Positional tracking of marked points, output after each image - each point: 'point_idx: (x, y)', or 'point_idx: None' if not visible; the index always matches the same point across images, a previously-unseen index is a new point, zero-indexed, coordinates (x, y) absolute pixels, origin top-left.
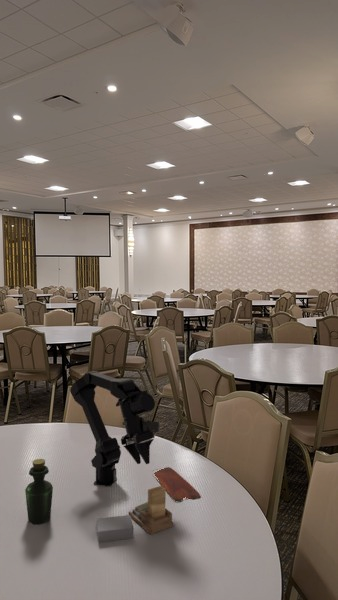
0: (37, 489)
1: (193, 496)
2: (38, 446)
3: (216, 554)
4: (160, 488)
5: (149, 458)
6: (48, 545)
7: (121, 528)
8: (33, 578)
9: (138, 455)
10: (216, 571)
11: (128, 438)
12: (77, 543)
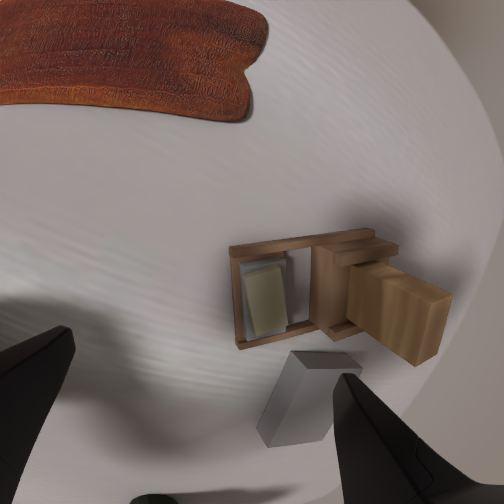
0: None
1: (257, 39)
2: None
3: (463, 202)
4: (440, 313)
5: (379, 398)
6: (261, 487)
7: None
8: (325, 482)
9: (29, 377)
10: (477, 233)
11: None
12: (287, 454)
